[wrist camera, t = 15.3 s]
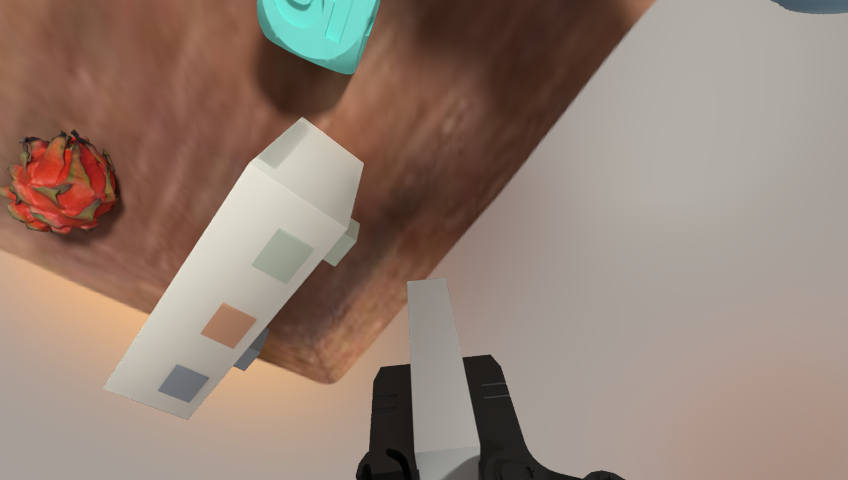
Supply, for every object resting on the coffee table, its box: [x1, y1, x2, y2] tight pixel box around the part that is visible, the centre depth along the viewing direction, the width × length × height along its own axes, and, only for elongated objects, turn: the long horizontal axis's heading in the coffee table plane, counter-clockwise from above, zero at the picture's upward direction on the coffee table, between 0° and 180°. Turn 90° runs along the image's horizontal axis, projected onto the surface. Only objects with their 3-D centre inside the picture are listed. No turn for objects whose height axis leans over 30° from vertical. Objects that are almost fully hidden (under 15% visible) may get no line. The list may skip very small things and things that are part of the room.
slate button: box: [233, 327, 270, 371], centre depth 41 cm, size 4×5×4 cm
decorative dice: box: [257, 0, 381, 75], centre depth 30 cm, size 8×8×8 cm
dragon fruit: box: [0, 129, 119, 235], centre depth 37 cm, size 8×8×12 cm
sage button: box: [323, 218, 360, 267], centre depth 35 cm, size 4×5×4 cm
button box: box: [103, 117, 364, 420], centre depth 37 cm, size 28×8×16 cm, turn 139°
